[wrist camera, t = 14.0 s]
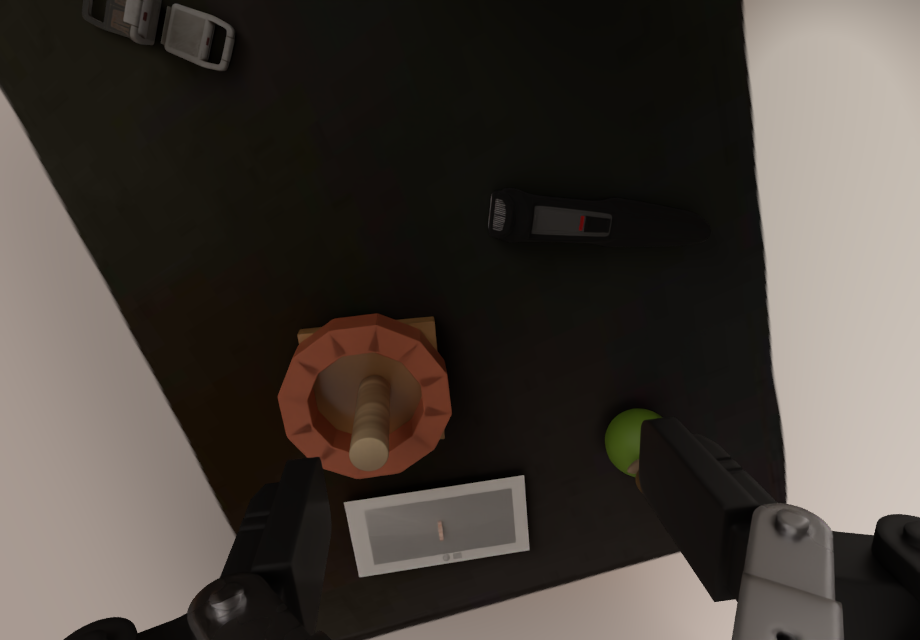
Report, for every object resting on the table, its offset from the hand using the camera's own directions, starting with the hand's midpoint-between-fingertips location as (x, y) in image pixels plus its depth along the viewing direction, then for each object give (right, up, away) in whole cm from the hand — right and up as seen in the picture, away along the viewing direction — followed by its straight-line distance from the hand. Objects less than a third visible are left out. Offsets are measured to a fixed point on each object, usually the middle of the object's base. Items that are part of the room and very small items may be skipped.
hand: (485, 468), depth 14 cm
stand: (-7, -1, +30) cm, 30 cm away
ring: (-8, -2, +28) cm, 29 cm away
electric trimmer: (+9, +11, +27) cm, 31 cm away
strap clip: (-19, +22, +20) cm, 35 cm away
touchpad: (-2, -14, +35) cm, 37 cm away
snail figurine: (+14, -5, +34) cm, 37 cm away
